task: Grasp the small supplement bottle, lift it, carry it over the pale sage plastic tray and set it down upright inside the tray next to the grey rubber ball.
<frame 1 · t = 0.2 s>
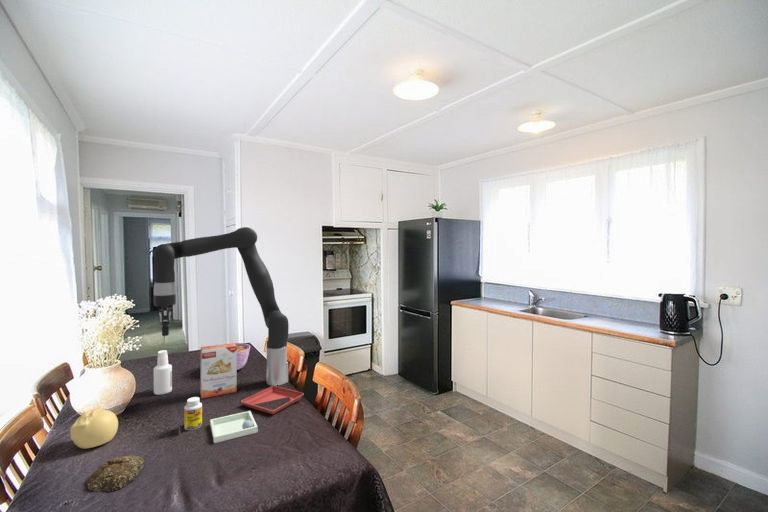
hand: (165, 333, 142), 29 cm above the table, fingers open, 8 cm apart
spray bottle: (163, 392, 155), on the table
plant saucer: (273, 405, 144), on the table
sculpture: (95, 443, 114), on the table
supplement bottle: (193, 428, 125), on the table
tray: (233, 430, 123), on the table
bowl of food: (229, 370, 182), on the table
mottled brown rock: (115, 478, 98), on the table
cracker box: (218, 393, 153), on the table
ball: (247, 430, 122), point 1 cm above the table, touching tray
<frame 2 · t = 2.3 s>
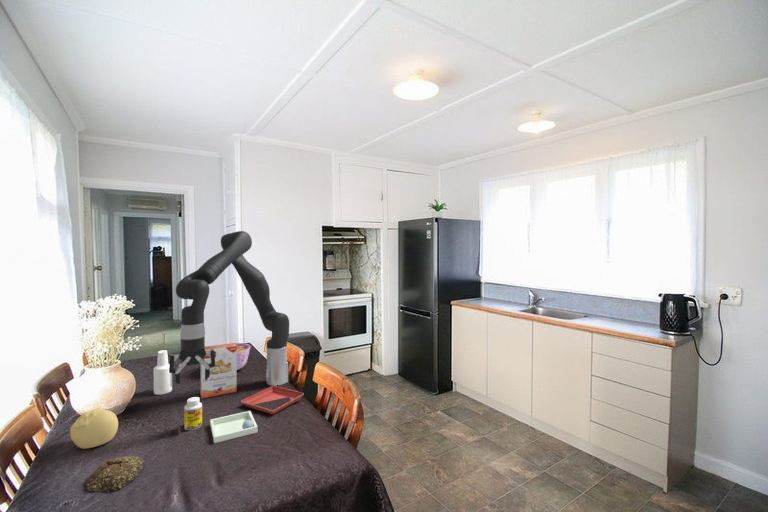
hand: (192, 381, 124), 17 cm above the table, fingers open, 8 cm apart
nothing on the table moved.
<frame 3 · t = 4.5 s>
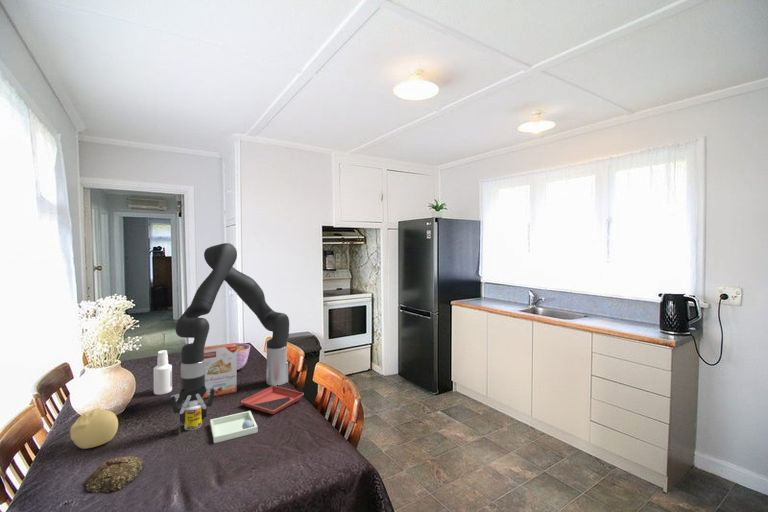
hand: (193, 420, 125), 3 cm above the table, fingers closed on supplement bottle, 5 cm apart
supplement bottle: (193, 428, 125), on the table, touching gripper
everything else where it was.
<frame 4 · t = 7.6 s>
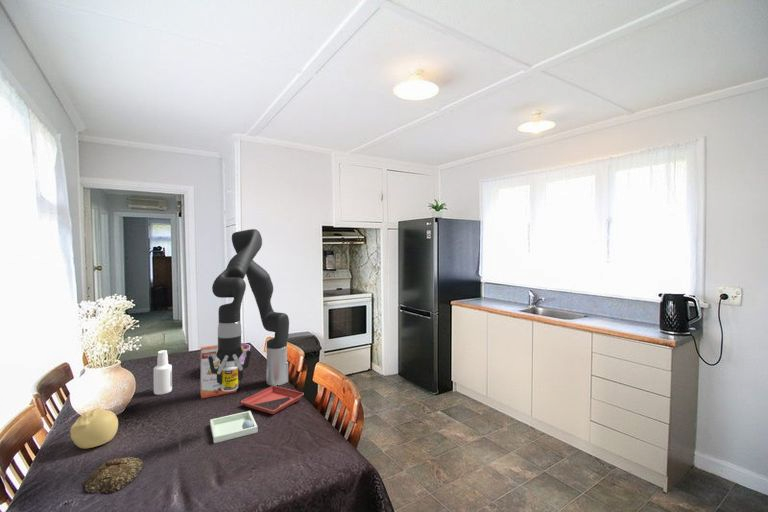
hand: (229, 381, 123), 17 cm above the table, fingers closed on supplement bottle, 5 cm apart
supplement bottle: (229, 389, 123), point 14 cm above the table, touching gripper
everything else where it was.
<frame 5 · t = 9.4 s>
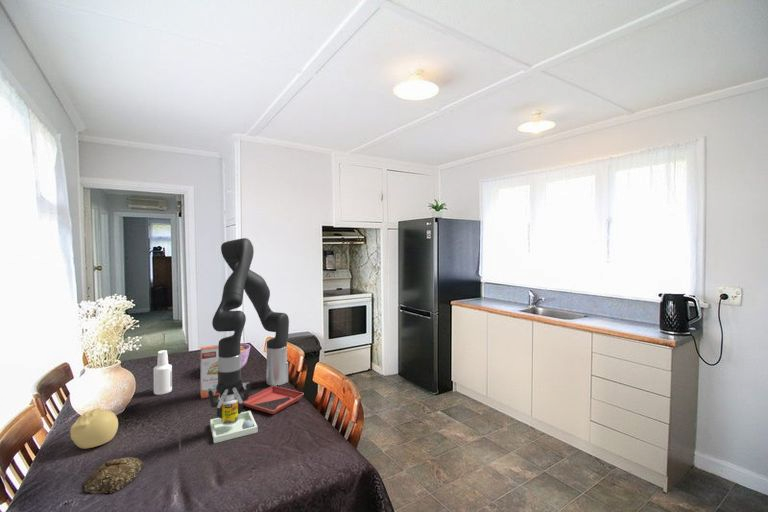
hand: (229, 414, 123), 5 cm above the table, fingers closed on supplement bottle, 5 cm apart
supplement bottle: (229, 422, 123), point 2 cm above the table, touching gripper
everything else where it was.
when the fingers open (4 cm above the table, at t = 10.7 s): supplement bottle stays where it is, resting on tray.
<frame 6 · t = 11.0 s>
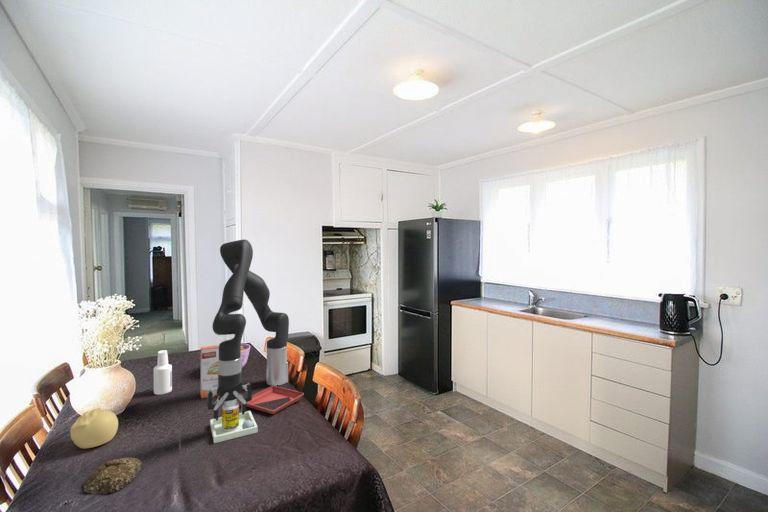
hand: (230, 416, 123), 5 cm above the table, fingers open, 8 cm apart
supplement bottle: (230, 428, 124), resting on tray
everything else where it was.
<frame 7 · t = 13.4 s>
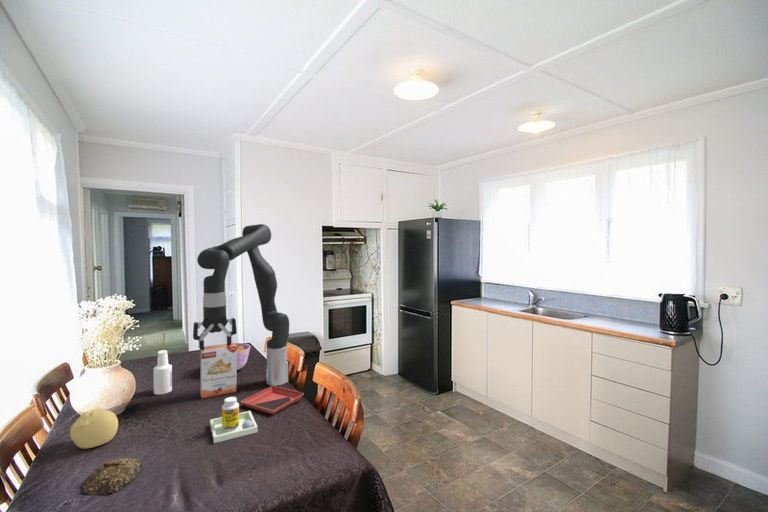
hand: (215, 348, 129), 27 cm above the table, fingers open, 8 cm apart
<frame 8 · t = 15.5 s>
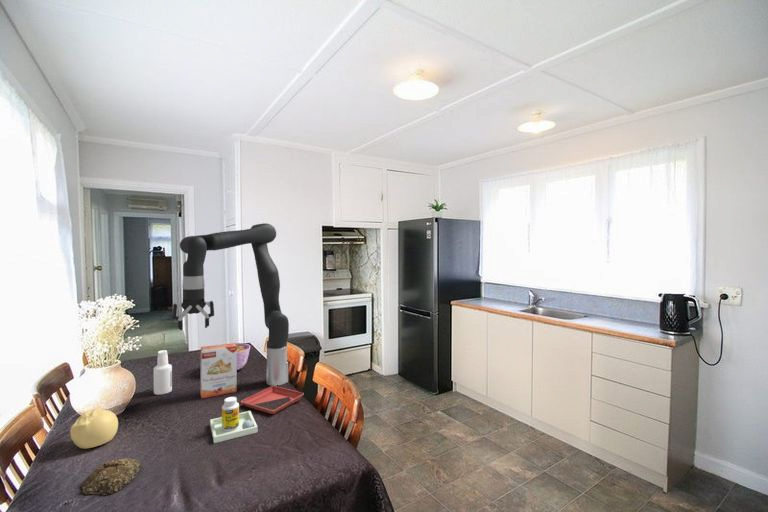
hand: (193, 328, 137), 32 cm above the table, fingers open, 8 cm apart
at the end: supplement bottle inside the target area on the tray (1.4 cm from its centre), point 0.4 cm above the tray's base; supplement bottle tilted 0°; the gripper is holding nothing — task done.
